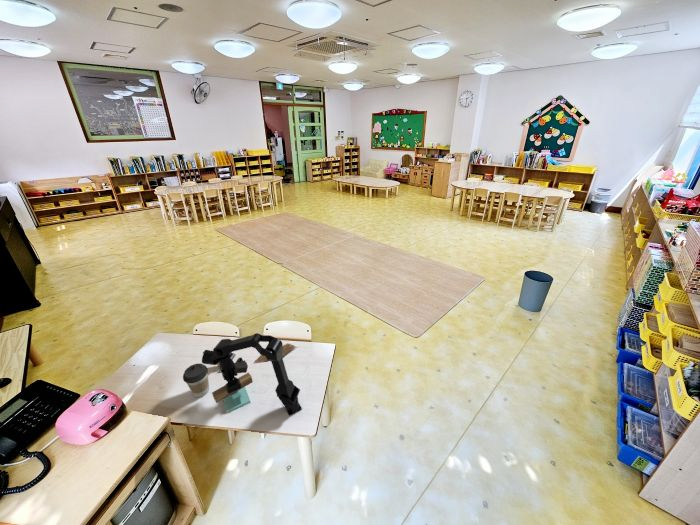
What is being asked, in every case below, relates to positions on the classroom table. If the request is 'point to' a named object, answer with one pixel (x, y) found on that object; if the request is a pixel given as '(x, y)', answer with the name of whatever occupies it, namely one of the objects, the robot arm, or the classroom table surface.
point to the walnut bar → (222, 391)
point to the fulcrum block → (236, 400)
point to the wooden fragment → (286, 350)
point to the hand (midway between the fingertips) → (233, 388)
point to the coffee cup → (197, 379)
